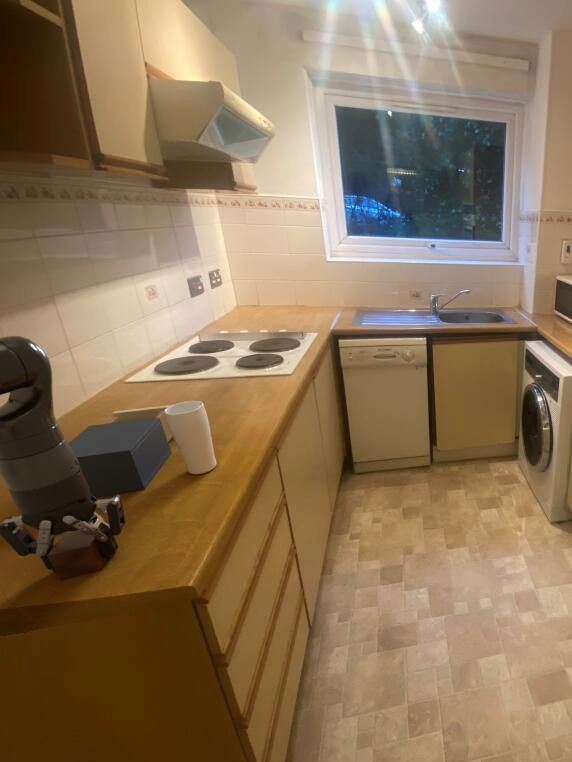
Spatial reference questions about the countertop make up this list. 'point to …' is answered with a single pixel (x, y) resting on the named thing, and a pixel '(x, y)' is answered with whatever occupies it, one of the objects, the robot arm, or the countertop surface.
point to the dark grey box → (121, 455)
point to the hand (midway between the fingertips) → (86, 561)
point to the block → (76, 555)
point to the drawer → (143, 416)
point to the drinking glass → (192, 435)
